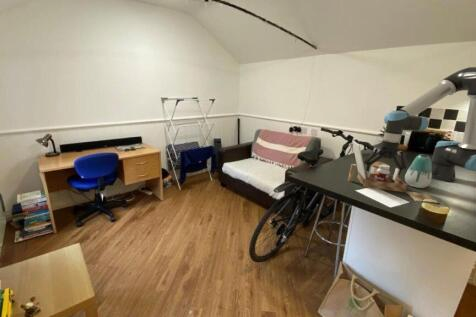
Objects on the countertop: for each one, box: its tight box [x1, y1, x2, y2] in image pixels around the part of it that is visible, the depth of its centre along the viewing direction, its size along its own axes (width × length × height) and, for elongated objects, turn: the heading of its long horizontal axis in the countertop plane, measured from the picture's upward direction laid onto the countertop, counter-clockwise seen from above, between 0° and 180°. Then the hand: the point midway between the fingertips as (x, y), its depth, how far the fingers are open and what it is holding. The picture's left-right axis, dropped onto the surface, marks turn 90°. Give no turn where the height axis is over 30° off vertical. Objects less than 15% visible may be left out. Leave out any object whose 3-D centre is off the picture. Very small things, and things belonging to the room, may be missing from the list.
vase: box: [404, 153, 433, 189], centre depth 125 cm, size 12×12×18 cm
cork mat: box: [405, 190, 436, 203], centre depth 113 cm, size 10×10×1 cm
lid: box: [351, 140, 366, 179], centre depth 126 cm, size 19×13×1 cm
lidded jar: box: [370, 161, 391, 173], centre depth 138 cm, size 11×11×9 cm
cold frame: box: [347, 163, 409, 193], centre depth 126 cm, size 26×14×10 cm, turn 78°
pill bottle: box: [373, 164, 391, 182], centre depth 125 cm, size 6×6×11 cm
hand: (380, 178), depth 126 cm, fingers open, 13 cm apart
